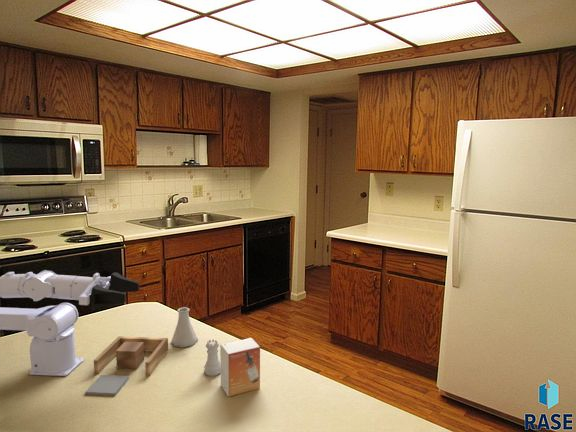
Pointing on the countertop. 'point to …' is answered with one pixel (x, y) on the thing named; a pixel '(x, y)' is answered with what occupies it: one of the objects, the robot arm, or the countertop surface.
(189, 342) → the flask
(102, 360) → the oak bracket
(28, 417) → the countertop surface
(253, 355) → the small box
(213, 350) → the rook chess piece
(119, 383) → the slate coaster
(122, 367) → the walnut block
